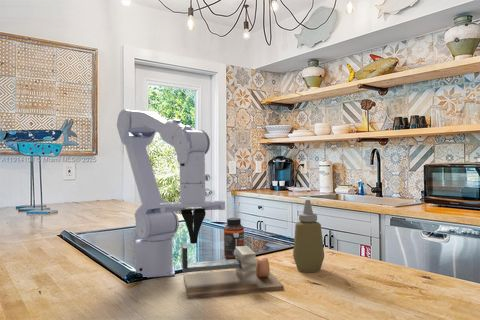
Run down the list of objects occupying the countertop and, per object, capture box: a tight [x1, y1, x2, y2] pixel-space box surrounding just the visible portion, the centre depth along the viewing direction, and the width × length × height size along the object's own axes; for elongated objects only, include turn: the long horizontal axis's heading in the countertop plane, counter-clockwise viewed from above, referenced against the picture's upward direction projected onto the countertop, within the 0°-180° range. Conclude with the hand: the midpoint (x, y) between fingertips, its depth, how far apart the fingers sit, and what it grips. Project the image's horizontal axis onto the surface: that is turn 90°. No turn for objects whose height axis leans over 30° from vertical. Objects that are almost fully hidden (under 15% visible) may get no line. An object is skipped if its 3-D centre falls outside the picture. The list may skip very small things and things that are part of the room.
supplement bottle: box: [223, 217, 245, 259], centre depth 110 cm, size 6×6×11 cm
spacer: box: [256, 257, 271, 278], centre depth 89 cm, size 4×4×2 cm
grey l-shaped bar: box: [180, 242, 241, 273], centre depth 86 cm, size 15×5×6 cm, turn 102°
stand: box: [183, 245, 285, 299], centre depth 87 cm, size 21×14×8 cm, turn 102°
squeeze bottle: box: [292, 199, 325, 273], centre depth 96 cm, size 8×8×18 cm
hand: (193, 242), depth 85 cm, fingers closed
